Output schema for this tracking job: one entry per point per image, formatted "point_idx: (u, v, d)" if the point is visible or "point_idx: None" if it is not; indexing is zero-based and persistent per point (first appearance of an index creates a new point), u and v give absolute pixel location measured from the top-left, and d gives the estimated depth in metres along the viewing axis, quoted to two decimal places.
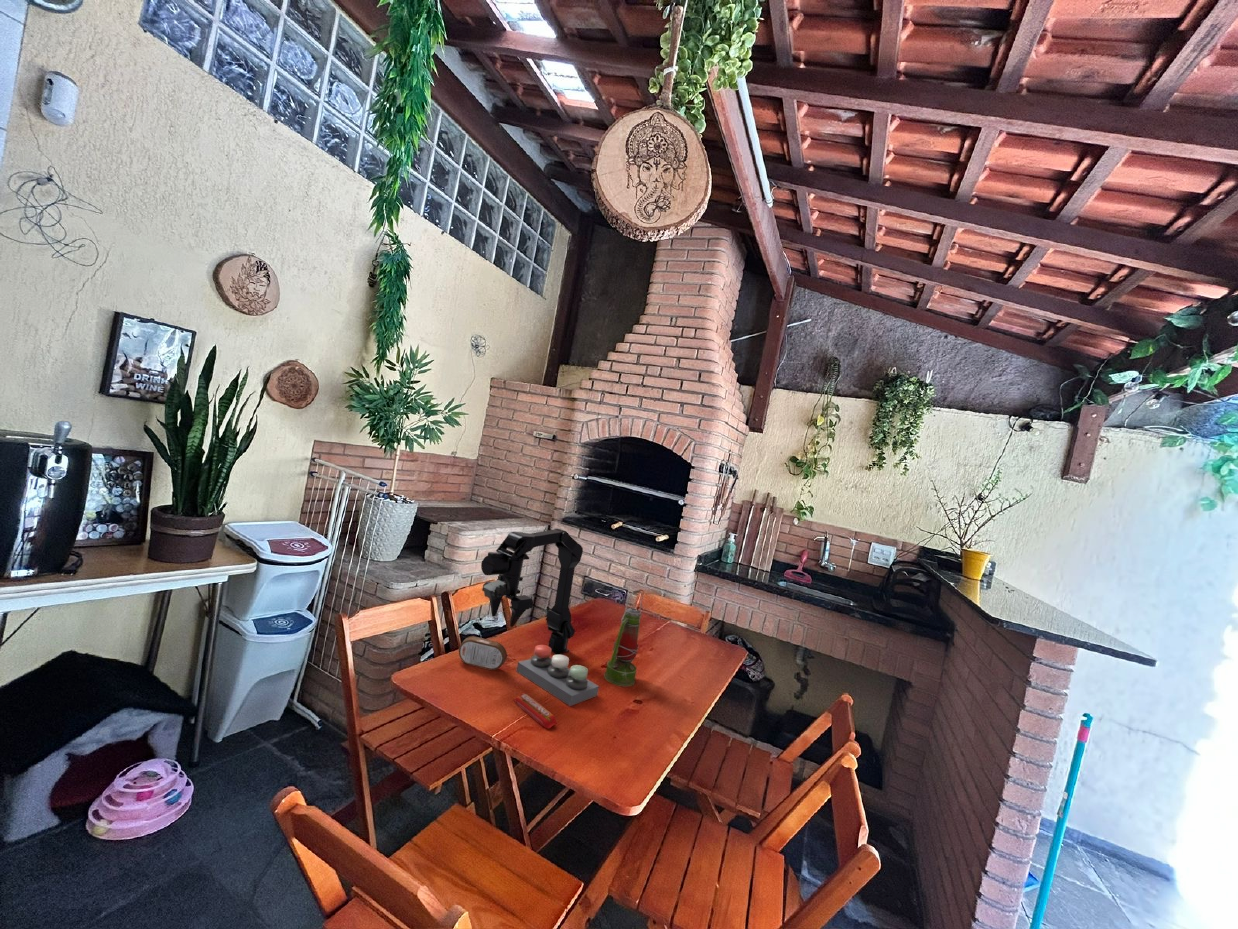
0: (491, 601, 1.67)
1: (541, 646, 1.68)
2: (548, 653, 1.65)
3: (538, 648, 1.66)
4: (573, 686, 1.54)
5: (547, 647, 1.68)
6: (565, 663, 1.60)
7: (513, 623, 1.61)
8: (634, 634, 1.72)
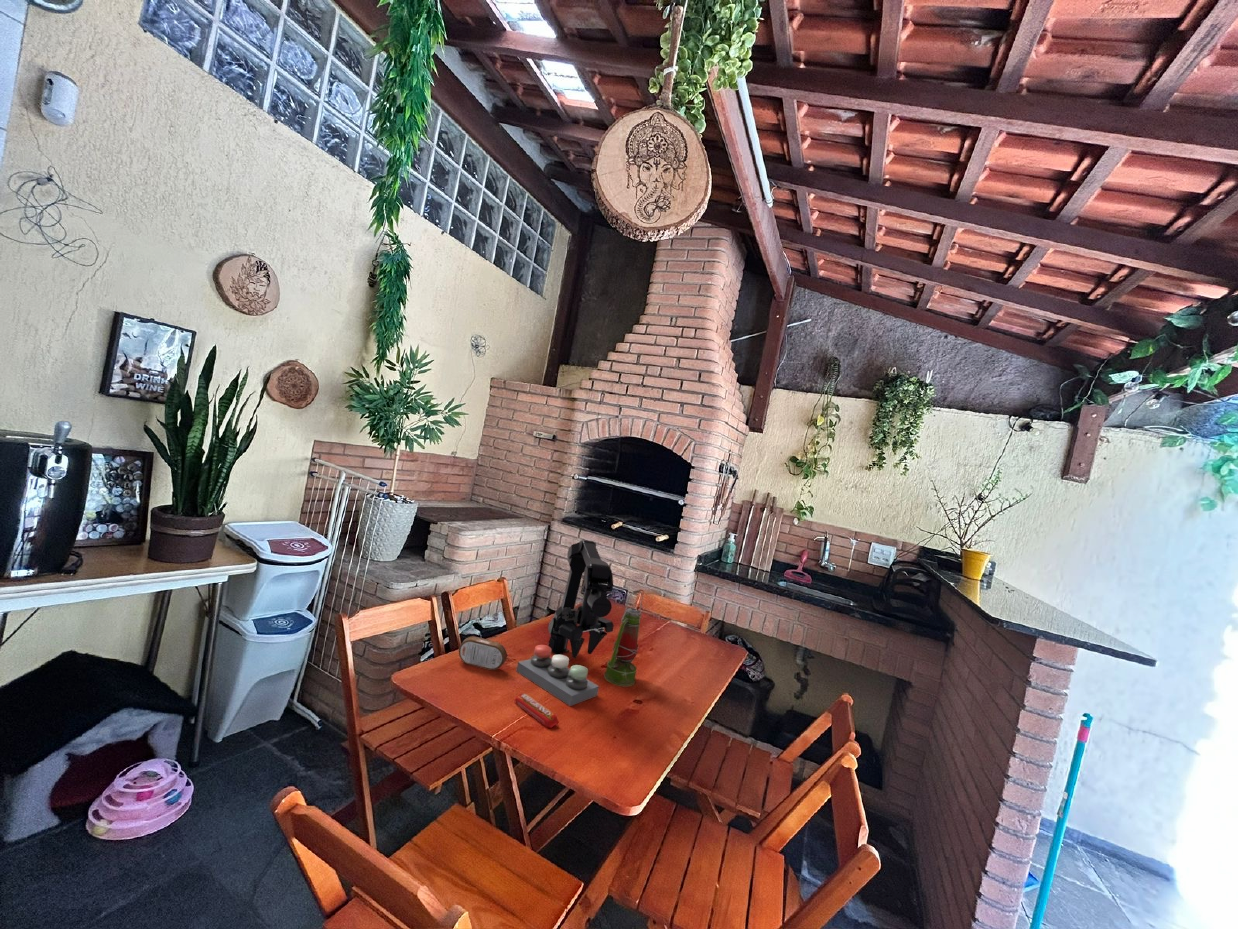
0: None
1: (541, 646, 1.68)
2: (548, 653, 1.65)
3: (538, 648, 1.66)
4: (573, 686, 1.54)
5: (547, 647, 1.68)
6: (565, 663, 1.60)
7: (573, 654, 1.53)
8: (634, 634, 1.72)
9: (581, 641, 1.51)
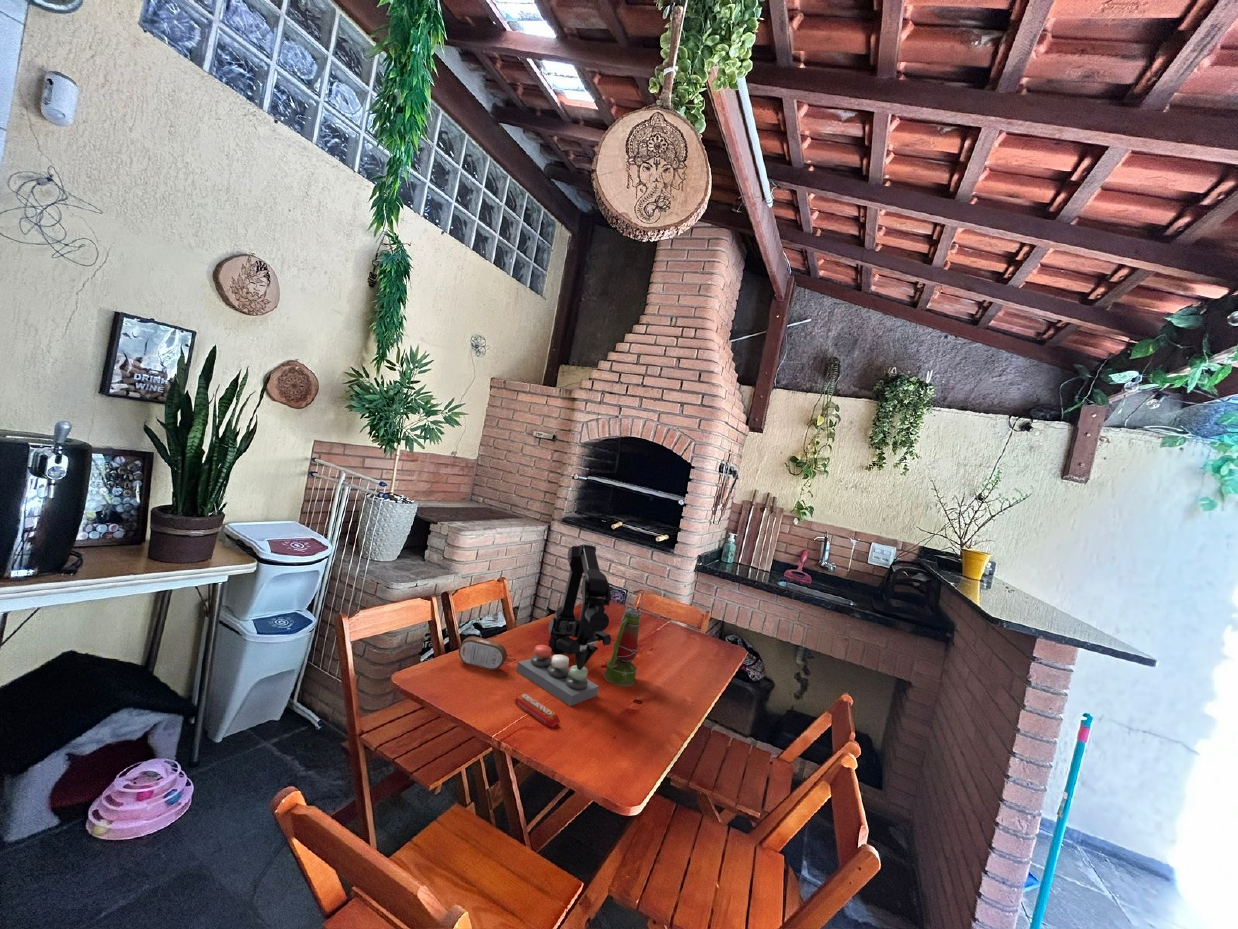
0: None
1: (541, 646, 1.68)
2: (548, 653, 1.65)
3: (538, 648, 1.66)
4: (573, 686, 1.54)
5: (547, 647, 1.68)
6: (565, 663, 1.60)
7: (578, 665, 1.56)
8: (634, 634, 1.72)
9: (586, 653, 1.53)
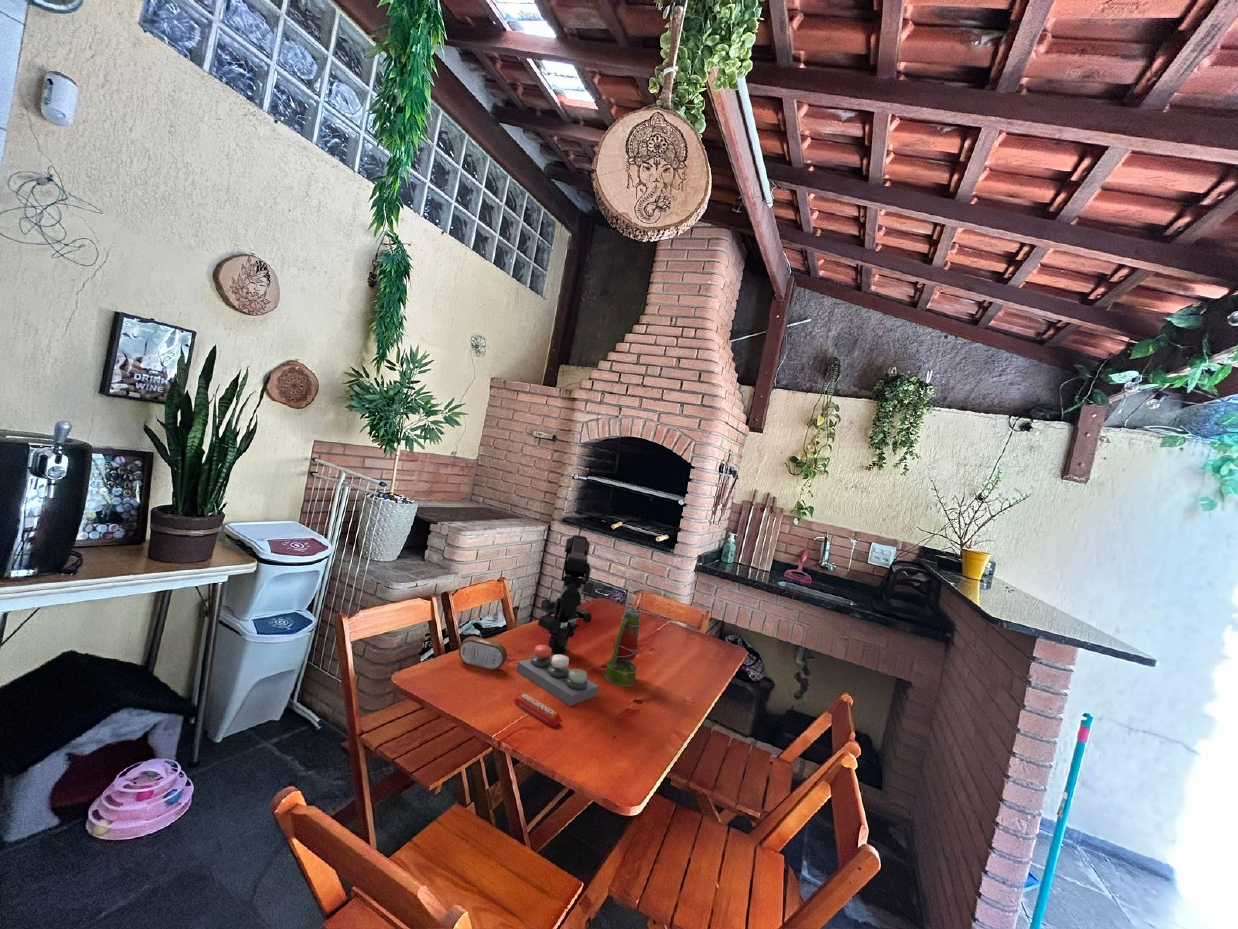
0: None
1: (541, 646, 1.68)
2: (548, 653, 1.65)
3: (538, 648, 1.66)
4: (573, 686, 1.54)
5: (547, 647, 1.68)
6: (565, 663, 1.60)
7: (559, 642, 1.62)
8: (634, 634, 1.72)
9: (567, 630, 1.59)
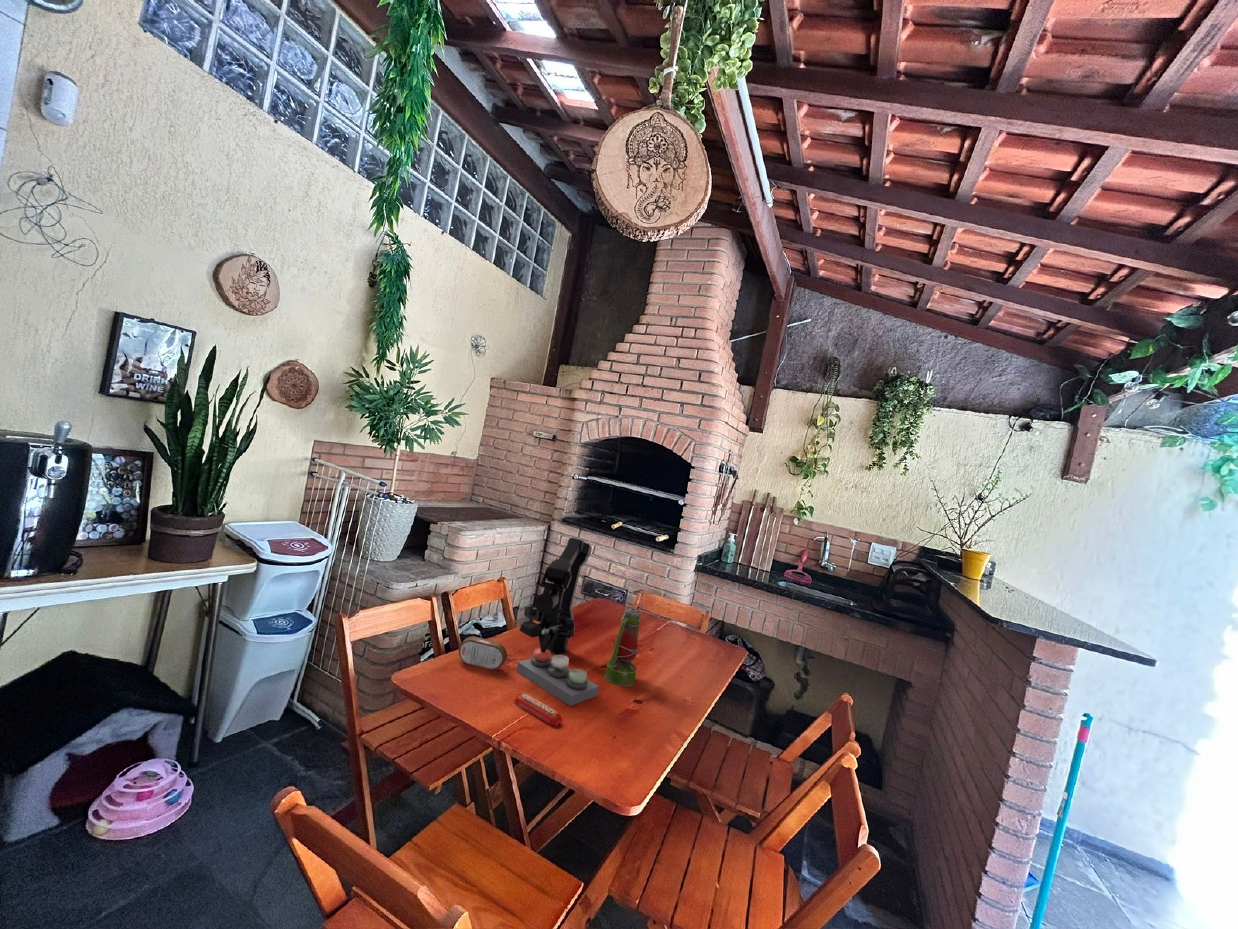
0: None
1: (540, 649, 1.68)
2: (547, 657, 1.65)
3: (537, 652, 1.66)
4: (573, 686, 1.54)
5: (546, 650, 1.68)
6: (565, 663, 1.60)
7: (541, 648, 1.66)
8: (634, 634, 1.72)
9: (548, 636, 1.63)
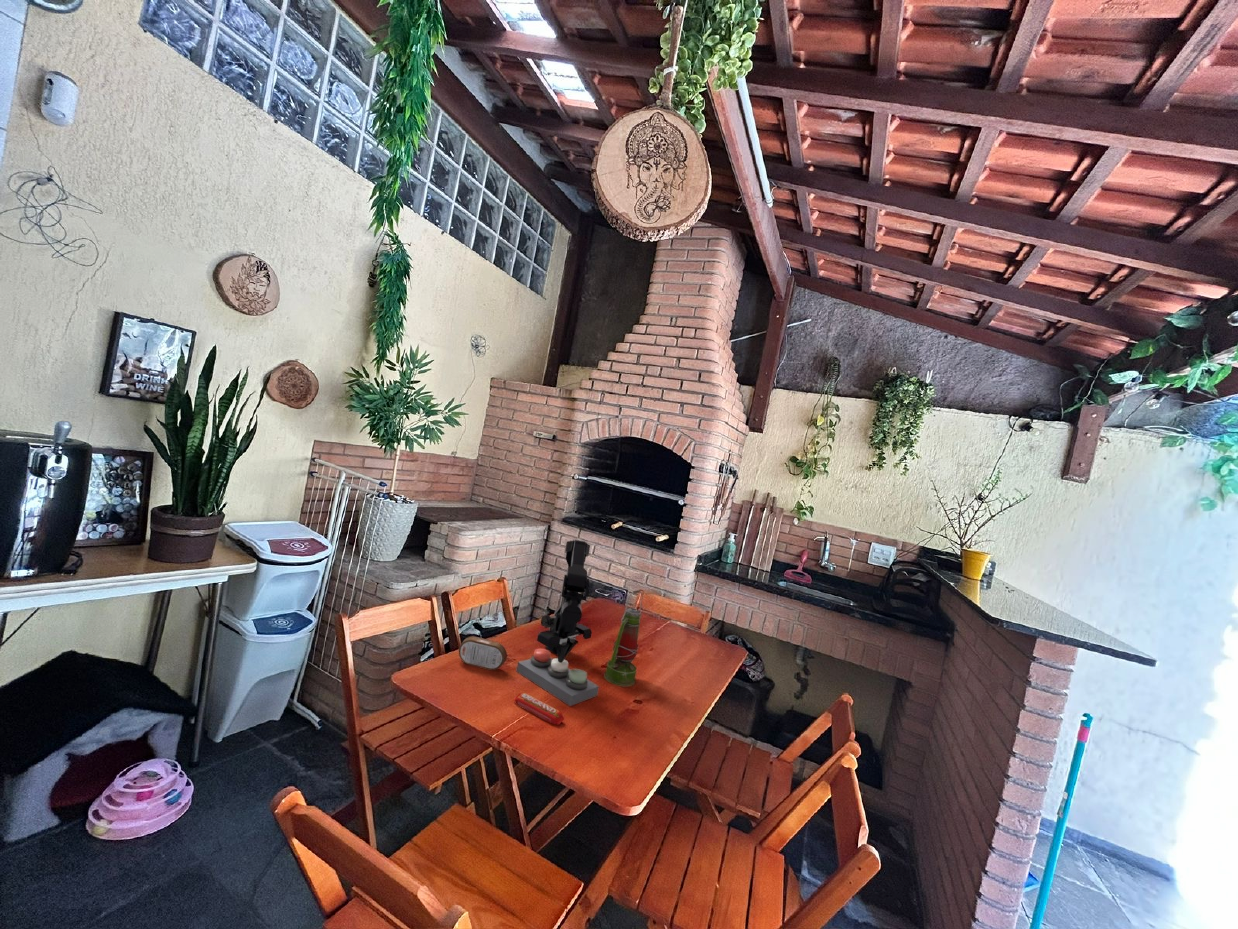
0: None
1: (540, 650, 1.68)
2: (547, 657, 1.65)
3: (537, 652, 1.66)
4: (573, 686, 1.54)
5: (546, 651, 1.68)
6: (564, 667, 1.60)
7: (559, 658, 1.61)
8: (634, 634, 1.72)
9: (566, 646, 1.58)
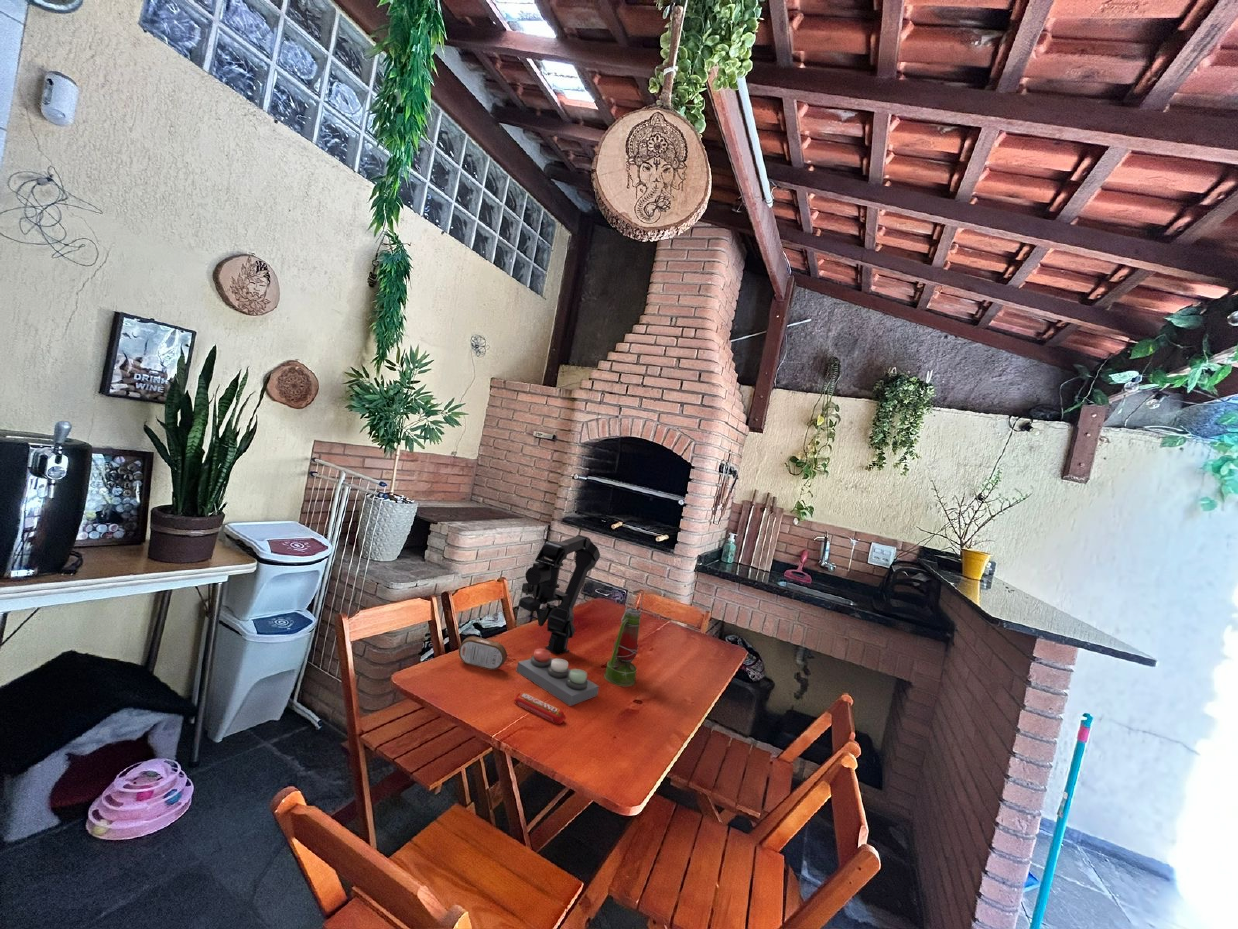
0: None
1: (540, 650, 1.68)
2: (547, 657, 1.65)
3: (537, 652, 1.66)
4: (573, 686, 1.54)
5: (546, 651, 1.68)
6: (564, 667, 1.60)
7: (539, 622, 1.72)
8: (634, 634, 1.72)
9: (546, 611, 1.70)
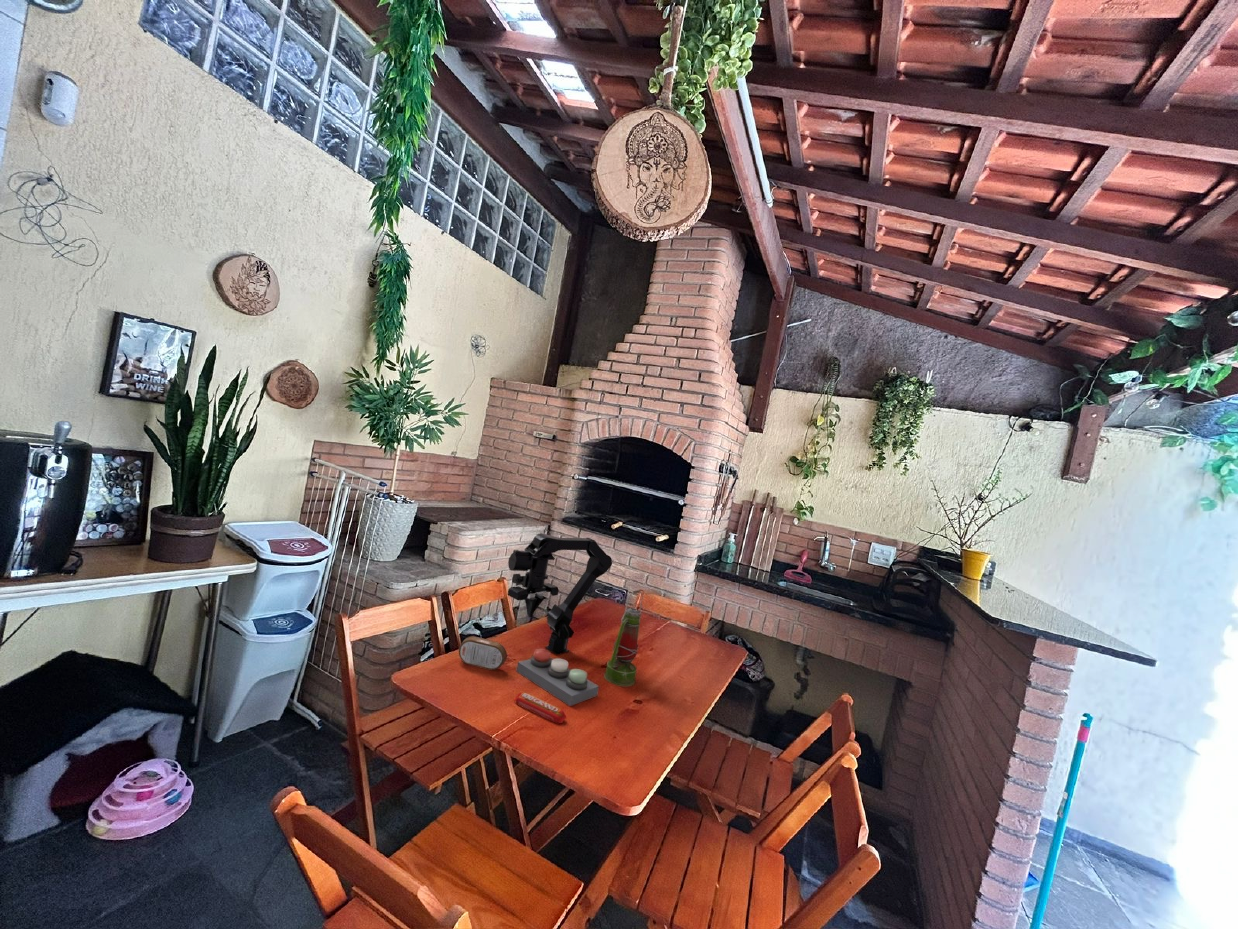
0: None
1: (540, 650, 1.68)
2: (547, 657, 1.65)
3: (537, 652, 1.66)
4: (573, 686, 1.54)
5: (546, 651, 1.68)
6: (564, 667, 1.60)
7: (528, 612, 1.78)
8: (634, 634, 1.72)
9: (534, 600, 1.76)
